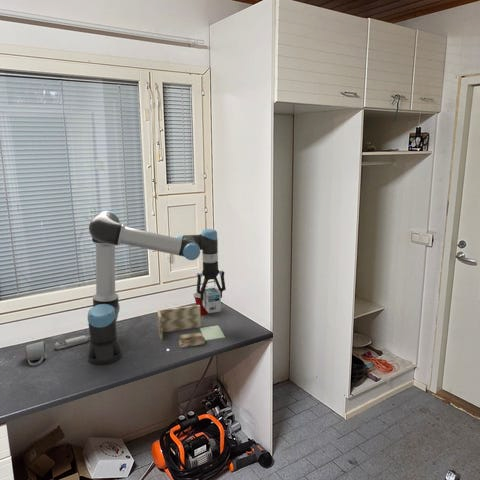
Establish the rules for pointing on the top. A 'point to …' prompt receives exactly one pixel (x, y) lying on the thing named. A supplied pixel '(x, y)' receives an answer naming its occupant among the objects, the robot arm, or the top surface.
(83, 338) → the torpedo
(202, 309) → the plastic cup
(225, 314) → the top surface
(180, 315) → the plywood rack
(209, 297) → the light bulb box
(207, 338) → the mat
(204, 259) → the robot arm
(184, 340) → the offcut stack
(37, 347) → the ceramic mug
